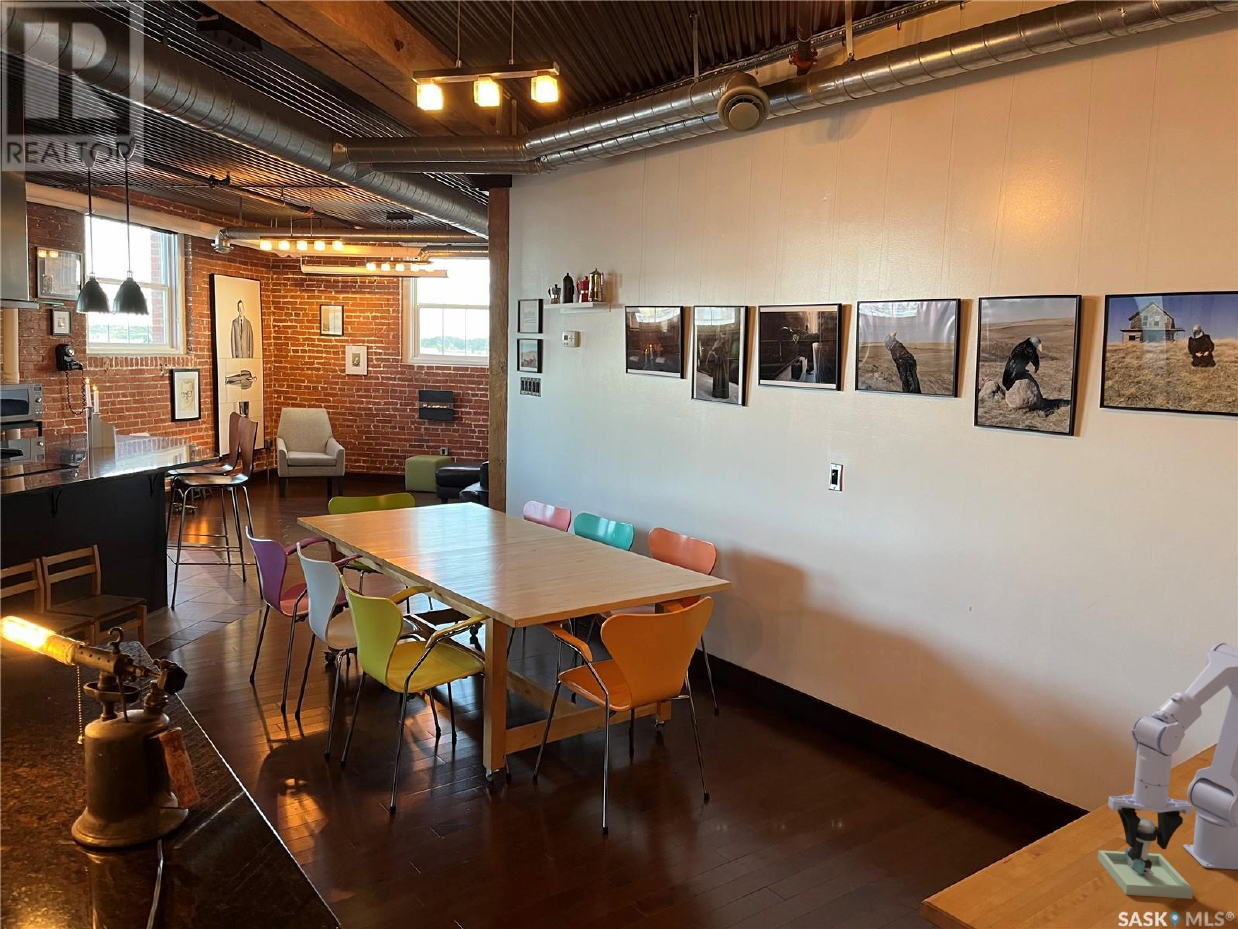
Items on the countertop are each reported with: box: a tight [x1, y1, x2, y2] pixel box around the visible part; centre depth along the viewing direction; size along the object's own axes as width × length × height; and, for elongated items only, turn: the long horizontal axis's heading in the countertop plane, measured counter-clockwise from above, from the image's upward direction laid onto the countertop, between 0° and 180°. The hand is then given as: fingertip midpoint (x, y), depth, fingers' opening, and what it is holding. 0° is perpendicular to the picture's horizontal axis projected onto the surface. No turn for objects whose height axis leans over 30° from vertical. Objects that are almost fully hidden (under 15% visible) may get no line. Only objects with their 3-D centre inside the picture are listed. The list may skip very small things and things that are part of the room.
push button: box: [1124, 816, 1160, 878], centre depth 174 cm, size 7×5×10 cm
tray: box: [1097, 849, 1194, 900], centre depth 174 cm, size 12×12×2 cm
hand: (1145, 845), depth 173 cm, fingers closed on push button, 5 cm apart
